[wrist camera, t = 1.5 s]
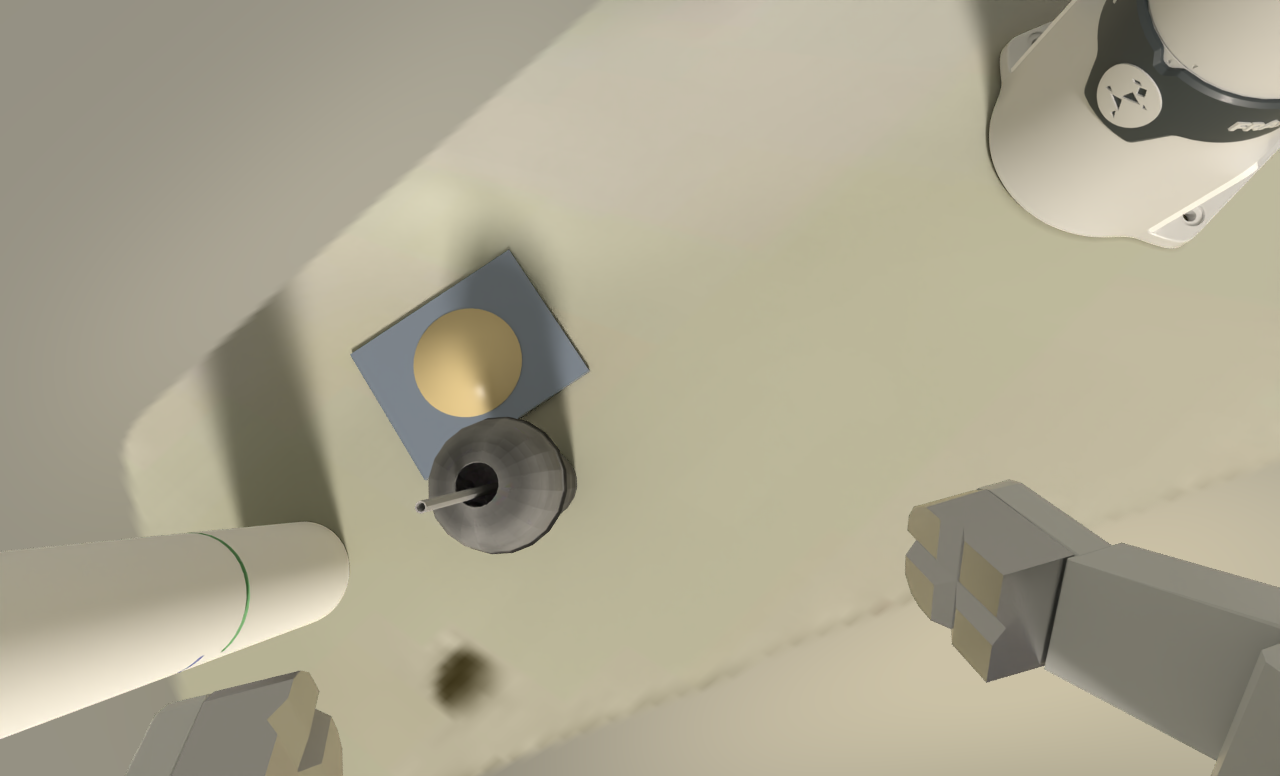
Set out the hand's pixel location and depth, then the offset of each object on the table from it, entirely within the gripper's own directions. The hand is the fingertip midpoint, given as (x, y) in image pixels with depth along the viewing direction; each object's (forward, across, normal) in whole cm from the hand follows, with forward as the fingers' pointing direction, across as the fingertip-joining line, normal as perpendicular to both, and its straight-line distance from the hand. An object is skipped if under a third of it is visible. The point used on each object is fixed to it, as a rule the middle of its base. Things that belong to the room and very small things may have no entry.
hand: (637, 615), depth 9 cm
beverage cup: (+33, +1, +19) cm, 38 cm away
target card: (+40, +4, +11) cm, 41 cm away
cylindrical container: (+35, +19, +23) cm, 46 cm away
